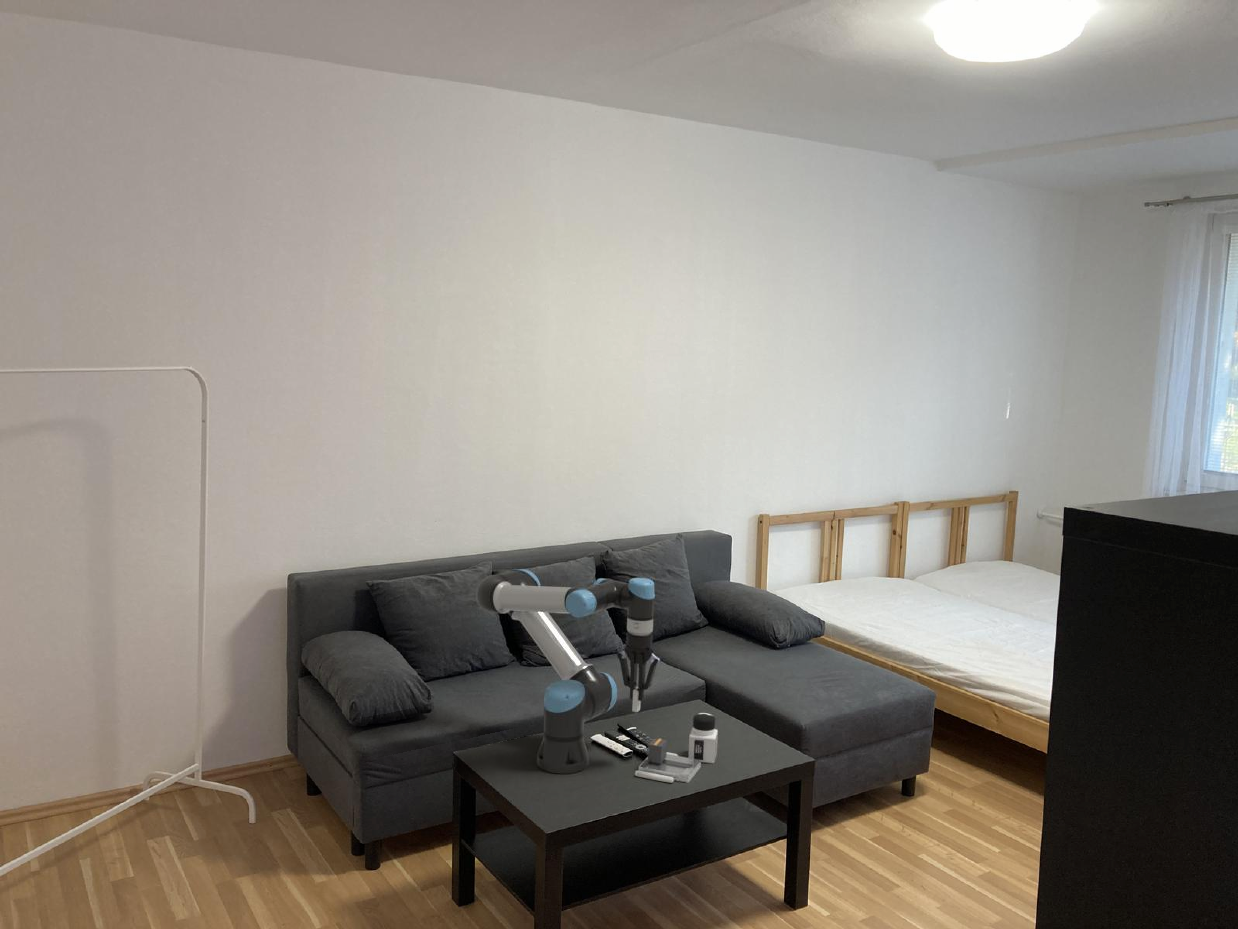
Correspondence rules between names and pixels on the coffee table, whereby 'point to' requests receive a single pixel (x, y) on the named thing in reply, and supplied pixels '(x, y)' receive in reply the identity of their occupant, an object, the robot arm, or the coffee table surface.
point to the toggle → (657, 750)
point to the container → (703, 738)
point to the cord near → (654, 776)
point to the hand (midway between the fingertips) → (636, 710)
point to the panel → (673, 767)
